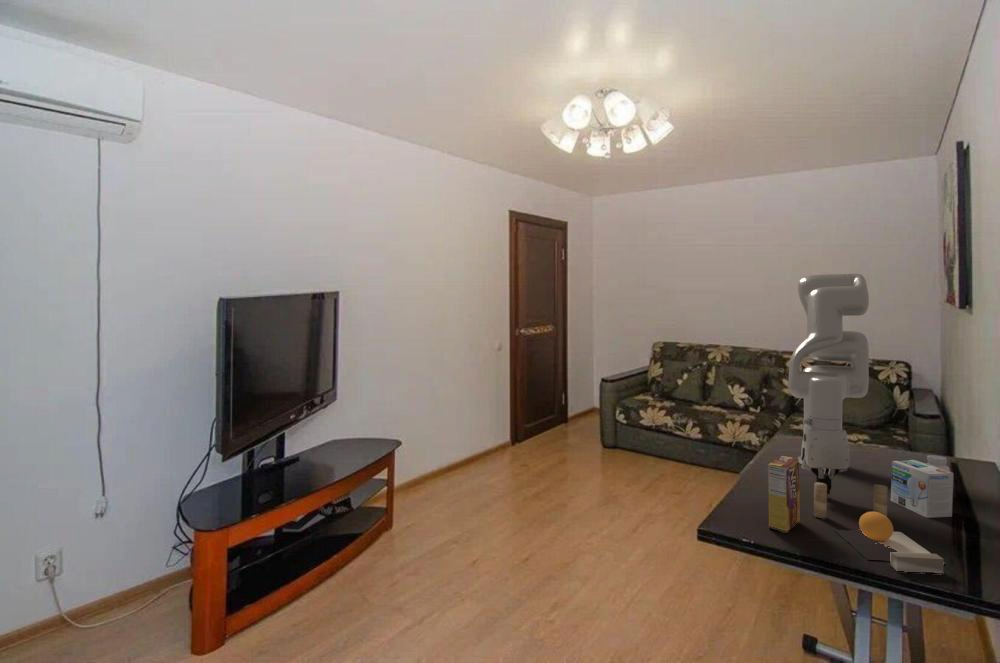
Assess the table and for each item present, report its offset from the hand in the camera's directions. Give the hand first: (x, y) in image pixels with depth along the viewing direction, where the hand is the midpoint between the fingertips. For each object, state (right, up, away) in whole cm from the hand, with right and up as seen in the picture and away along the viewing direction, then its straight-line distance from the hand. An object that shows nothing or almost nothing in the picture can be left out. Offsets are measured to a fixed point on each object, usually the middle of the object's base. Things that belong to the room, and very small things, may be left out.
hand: (823, 492), depth 134 cm
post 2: (+5, -2, -14) cm, 15 cm away
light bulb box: (+19, -2, -8) cm, 21 cm away
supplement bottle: (+32, -1, +2) cm, 32 cm away
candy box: (-20, -3, -16) cm, 26 cm away
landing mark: (-4, -3, -27) cm, 27 cm away
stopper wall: (-6, -4, -36) cm, 37 cm away
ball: (-4, 0, -24) cm, 24 cm away
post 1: (-8, -2, -12) cm, 15 cm away
